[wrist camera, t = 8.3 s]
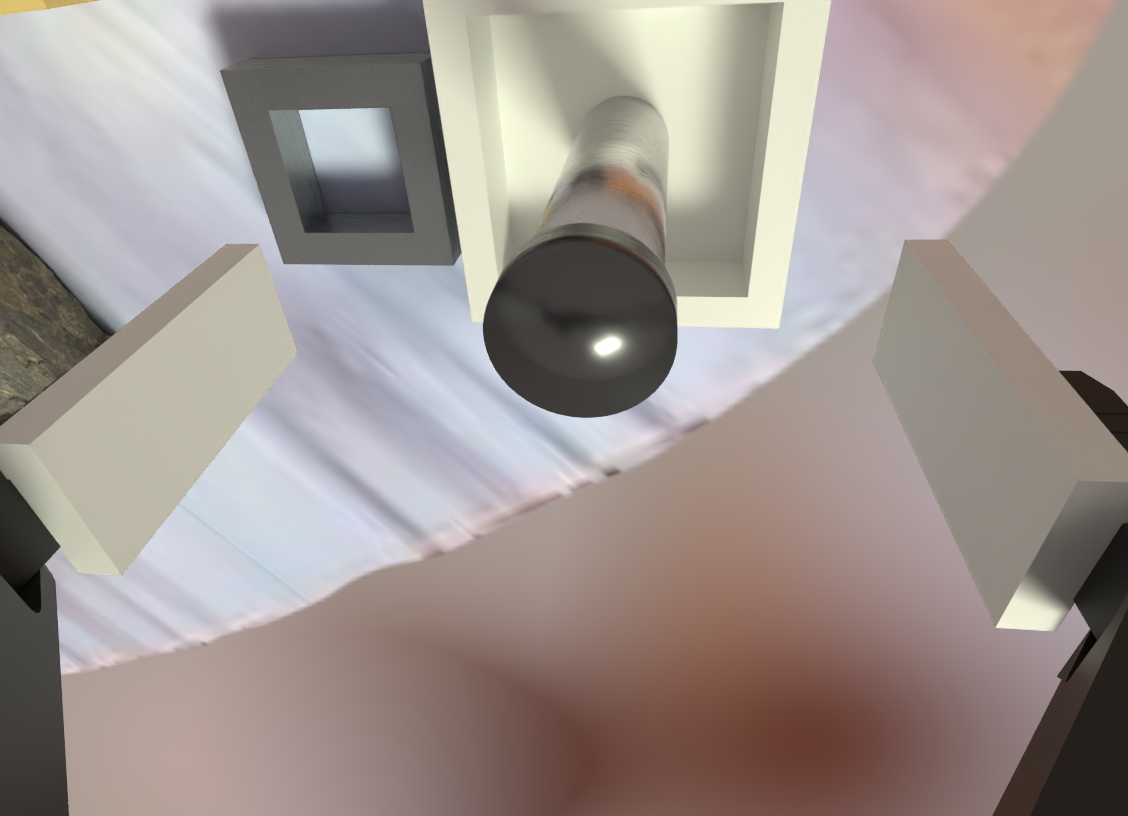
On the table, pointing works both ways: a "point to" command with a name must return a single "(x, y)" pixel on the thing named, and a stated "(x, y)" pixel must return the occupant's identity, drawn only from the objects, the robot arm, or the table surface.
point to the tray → (675, 89)
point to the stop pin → (593, 275)
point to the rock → (37, 326)
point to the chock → (34, 5)
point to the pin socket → (287, 173)
